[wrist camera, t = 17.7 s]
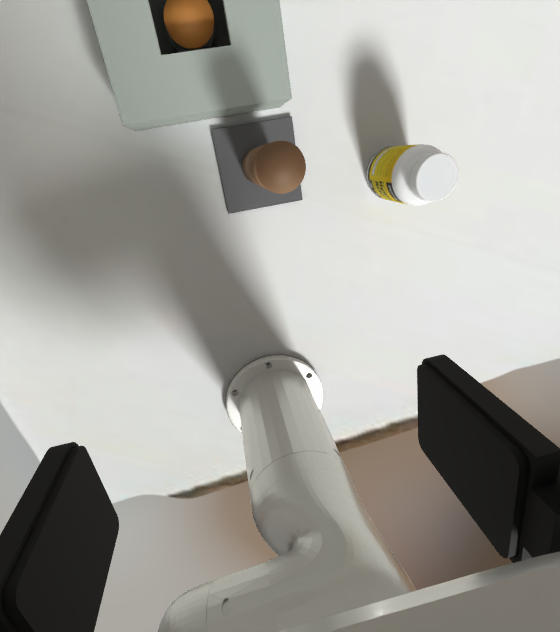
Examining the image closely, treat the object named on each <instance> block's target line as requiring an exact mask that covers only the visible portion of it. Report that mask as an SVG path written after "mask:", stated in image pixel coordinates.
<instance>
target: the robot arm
mask: <svg viewBox="0 0 560 632" xmlns="http://www.w3.org/2000/svg"><path fill="white" fill-rule="evenodd" d="M268 362H269V363H268ZM417 385H418V439H419V444H420V446H421V448H422V450H423V452H424V453H425V454H426V456H427V457H428V458H429V460H430V461H431V462H432V464H433V465H434V466H435V468H436V469H437V471H438V472H439V473H440V475H441V476H442V477H443V479H444V480H445V481H446V483H447V484H448V485H449V487H450V488H451V490H452V491H453V492H454V494H455V495H456V496H457V498H458V499H459V500H460V501H461V503H462V504H463V506H464V507H465V508H466V510H467V511H468V512H469V514H470V515H471V516H472V518H473V519H474V521H475V522H476V523H477V525H478V526H479V527H480V529H481V530H482V531H483V533H484V534H485V535H486V537H487V538H488V539H489V541H490V542H491V544H492V545H493V546H494V547H495V549H496V550H497V552H498V553H499V554H500V555H501V556H502V557H503V558H510V560H511V561H512V562H513V563H512V564H509V565H504V566H501V567H497V568H493V569H490V570H486V571H483V572H479V573H475V574H472V575H468V576H465V577H461V578H458V579H455V580H451V581H448V582H444V583H441V584H438V585H434V586H431V587H427V588H424V589H420V590H417V591H416V589H415V587H414V586H413V584H412V582H411V581H410V579H409V577H408V576H407V574H406V572H405V571H404V569H403V568H402V566H401V565H400V563H399V562H398V560H397V559H396V557H395V556H394V554H393V553H392V551H391V550H390V548H389V547H388V546H387V544H386V542H385V541H384V539H383V538H382V536H381V535H380V533H379V532H378V530H377V529H376V527H375V525H374V524H373V522H372V520H371V519H370V517H369V515H368V513H367V511H366V509H365V507H364V505H363V503H362V501H361V499H360V497H359V495H358V493H357V491H356V489H355V487H354V485H353V482H352V480H351V478H350V476H349V474H348V471H347V469H346V467H345V465H344V462H343V460H342V458H341V456H340V453H339V451H338V449H337V447H336V444H335V442H334V440H333V438H332V436H331V433H330V431H329V429H328V427H327V424H326V422H325V420H324V418H323V416H322V413H321V411H320V408H321V406H322V401H323V389H322V385H321V382H320V380H319V378H318V376H317V374H316V373H315V371H314V370H313V369H312V368H311V367H310V366H309V365H308V364H307V363H305V362H303V361H302V360H300V359H297V358H294V357H291V356H285V355H273V356H267V357H263V358H260V359H257V360H255V361H253V362H251V363H250V364H248V365H246V366H245V367H244V368H243V369H241V370H240V371H239V372H238V373H237V375H236V376H235V377H234V378H233V380H232V382H231V383H230V385H229V388H228V391H227V397H226V407H227V413H228V416H229V419H230V420H231V422H232V424H233V425H234V426H235V427H236V429H237V430H238V431H240V432H241V433H242V435H243V443H244V451H245V459H246V467H247V475H248V483H249V491H250V499H251V507H252V514H253V519H254V521H255V524H256V527H257V529H258V531H259V533H260V534H261V536H262V538H263V539H264V541H265V542H266V543H267V544H268V545H269V546H270V548H271V549H272V550H273V551H274V552H275V553H276V554H278V555H279V556H278V557H276V558H273V559H270V561H268V562H265V563H262V564H259V565H257V566H254V567H251V568H248V569H245V570H242V571H239V572H236V573H234V574H230V575H228V576H225V577H222V578H219V579H216V580H213V581H210V582H207V583H205V584H202V585H200V586H198V587H195V588H193V589H191V590H189V591H187V592H185V593H184V594H182V595H181V596H179V597H178V598H177V599H176V600H175V601H174V602H173V603H172V604H171V605H170V607H169V608H168V609H167V611H166V612H165V614H164V616H163V618H162V620H161V623H160V626H159V630H158V632H560V448H559V447H557V446H556V445H555V444H554V443H552V442H551V441H550V440H549V439H548V438H546V437H545V436H544V435H543V434H541V433H540V432H539V431H538V430H537V429H535V428H534V427H533V426H532V425H530V424H529V423H528V422H527V421H526V420H524V419H523V418H522V417H521V416H519V415H518V414H517V413H516V412H514V411H513V410H512V409H511V408H509V407H508V406H507V405H506V404H505V403H503V402H502V401H501V400H500V399H499V398H497V397H496V396H495V395H494V394H492V393H491V392H490V391H489V390H487V389H486V388H485V387H484V386H483V385H481V384H480V383H479V382H478V381H477V380H475V379H474V378H473V377H472V376H470V375H469V374H468V373H467V372H466V371H464V370H463V369H462V368H461V367H459V366H458V365H457V364H456V363H454V362H453V361H452V360H451V359H450V358H448V357H447V356H445V355H439V356H435V357H430V358H426V359H424V360H423V362H422V365H419V366H418V368H417ZM118 530H119V521H118V516H117V514H116V512H115V510H114V508H113V505H112V503H111V501H110V499H109V497H108V495H107V492H106V490H105V488H104V486H103V484H102V482H101V480H100V477H99V475H98V473H97V471H96V469H95V467H94V465H93V462H92V460H91V458H90V456H89V454H88V452H87V450H86V448H85V447H84V446H78V444H77V443H75V442H71V443H67V444H63V445H59V446H54V447H51V448H49V449H48V451H47V452H46V454H45V456H44V458H43V459H42V461H41V463H40V465H39V467H38V468H37V470H36V472H35V474H34V476H33V478H32V479H31V481H30V483H29V485H28V486H27V488H26V490H25V492H24V494H23V495H22V497H21V499H20V501H19V502H18V504H17V506H16V508H15V510H14V512H13V513H12V515H11V517H10V519H9V521H8V522H7V524H6V526H5V528H4V530H3V531H2V533H1V535H0V632H94V629H95V625H96V621H97V617H98V612H99V608H100V604H101V600H102V596H103V592H104V588H105V584H106V580H107V575H108V571H109V567H110V563H111V559H112V555H113V551H114V547H115V542H116V539H117V535H118Z"/></svg>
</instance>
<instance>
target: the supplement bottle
mask: <svg viewBox="0 0 560 632" xmlns="http://www.w3.org/2000/svg"><path fill="white" fill-rule="evenodd" d="M457 180H458V167H457V164H456V162H455V160H454V159H453V158H452V157H451V156H450V155H448V154H445V153H442V152H441V151H440V150H439V149H437V148H435V147H433V146H430V145H405V146H391V147H386V148H384V149H382V150H380V151H379V152H377V153H376V154H375V155H374V157H373V158H372V159H371V161H370V163H369V166H368V169H367V182H368V186H369V188H370V189H371V191H372V192H373V193H374V194H375V195H376V196H378V197H380V198H383V199H386V200H391V201H395V202H399V203H403V204H407V205H413V206H420V205H424V204H427V203H429V202H431V201H432V202H433V201H439V200H442V199H444V198H445V197H447V196H448V195H449V194H450V193H451V192H452V190H453V189H454V187H455V185H456V183H457Z"/></svg>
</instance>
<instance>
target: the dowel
mask: <svg viewBox="0 0 560 632" xmlns="http://www.w3.org/2000/svg"><path fill="white" fill-rule="evenodd" d="M242 170H243V173H244V175H245V177H246V178H247V179H248V180H249V181H250V182H252V183H254V184H256V185H258V186H261V187H263V188H265V189H267V190H269V191H271V192H274V193H278V194H285V193H289V192H291V191H293V190H294V189H296V188H297V187H298V186H299V185H300V183H301V182H302V180H303V178H304V175H305V170H306V165H305V159H304V156H303V154H302V152H301V151H300V150H299V148H298V147H297V146H295V145H294V144H292V143H290V142H288V141H275V142H272V143H268V144H265V145H262V146H259V147H256V148H253V149H251V150H249V151H248V152H247V153H246V154H245V156H244V158H243V161H242Z"/></svg>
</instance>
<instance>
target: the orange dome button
mask: <svg viewBox="0 0 560 632" xmlns="http://www.w3.org/2000/svg"><path fill="white" fill-rule="evenodd" d="M164 22H165V25H166V29H167V32H168V35H169V38H170V40H171V42H172V44H173V46H174V47H175V48H176V49H177V50H178V51H179V52H187V51H194V50H201V49H208V48H210V47H211V45H212V42H213V37H214V15H213V11H212V8H211V6H210V4H209V2H208V1H207V0H167V1H166V3H165V6H164Z"/></svg>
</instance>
